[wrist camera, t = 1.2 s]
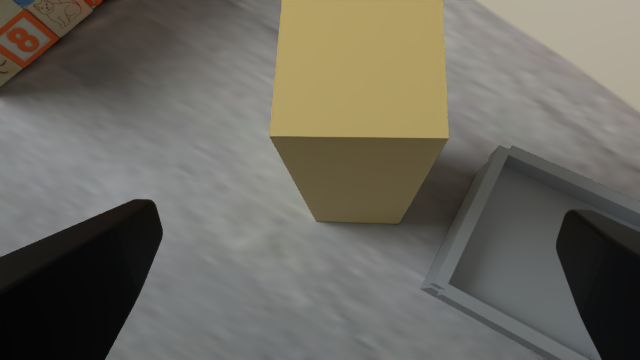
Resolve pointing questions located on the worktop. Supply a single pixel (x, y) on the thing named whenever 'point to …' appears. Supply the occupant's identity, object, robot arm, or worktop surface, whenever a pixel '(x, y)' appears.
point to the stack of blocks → (35, 29)
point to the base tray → (521, 251)
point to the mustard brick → (360, 103)
